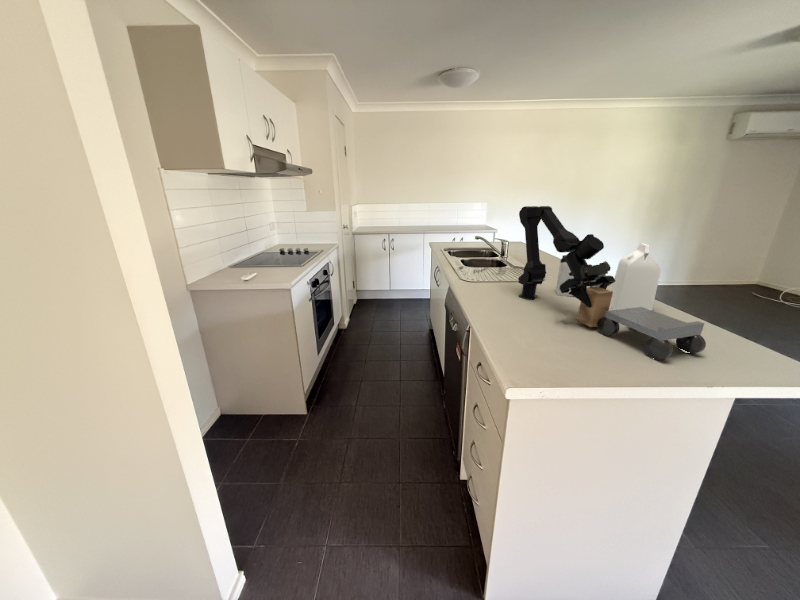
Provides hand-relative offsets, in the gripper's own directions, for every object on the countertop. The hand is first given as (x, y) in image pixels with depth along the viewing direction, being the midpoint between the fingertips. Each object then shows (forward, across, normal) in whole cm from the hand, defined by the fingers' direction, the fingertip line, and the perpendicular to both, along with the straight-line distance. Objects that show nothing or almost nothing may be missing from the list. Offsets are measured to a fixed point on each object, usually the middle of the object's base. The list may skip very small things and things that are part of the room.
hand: (597, 306), depth 106 cm
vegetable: (-4, +14, +16) cm, 21 cm away
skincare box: (-18, +19, +30) cm, 40 cm away
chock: (+4, 0, +6) cm, 7 cm away
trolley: (+15, +6, -4) cm, 17 cm away
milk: (-2, +29, +14) cm, 32 cm away
